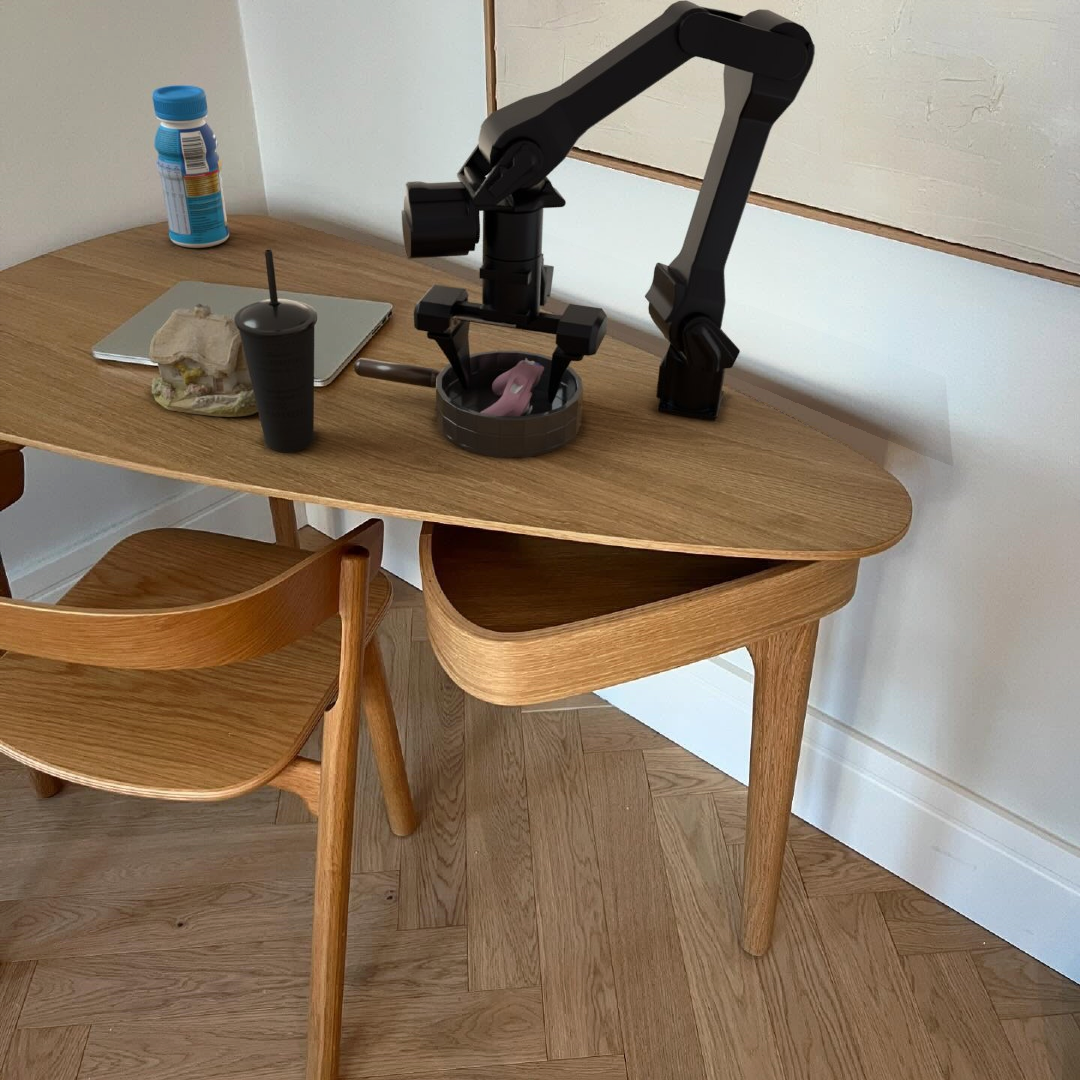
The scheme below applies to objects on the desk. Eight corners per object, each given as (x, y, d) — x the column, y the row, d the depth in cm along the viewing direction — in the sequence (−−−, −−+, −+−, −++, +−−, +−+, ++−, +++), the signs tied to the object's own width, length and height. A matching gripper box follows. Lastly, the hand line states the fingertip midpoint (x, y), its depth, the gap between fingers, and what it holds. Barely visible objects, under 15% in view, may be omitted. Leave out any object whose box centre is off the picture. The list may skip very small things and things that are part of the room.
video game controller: (506, 452, 113) (538, 403, 109) (467, 430, 112) (498, 379, 108) (526, 407, 121) (556, 359, 116) (490, 386, 120) (519, 337, 116)
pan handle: (446, 384, 117) (445, 367, 116) (440, 392, 115) (439, 375, 114) (358, 370, 119) (357, 353, 117) (351, 378, 117) (350, 361, 116)
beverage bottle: (158, 246, 152) (133, 96, 140) (184, 225, 159) (162, 80, 147) (216, 252, 151) (195, 101, 139) (240, 231, 158) (221, 85, 146)
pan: (593, 399, 121) (596, 362, 118) (560, 468, 109) (563, 429, 106) (462, 378, 124) (462, 341, 121) (416, 443, 112) (415, 405, 109)
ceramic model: (129, 401, 116) (111, 314, 111) (191, 358, 125) (177, 275, 119) (243, 428, 113) (231, 339, 107) (299, 381, 121) (290, 297, 116)
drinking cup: (292, 468, 107) (270, 273, 95) (235, 444, 110) (206, 253, 98) (343, 436, 112) (328, 247, 101) (287, 414, 115) (266, 229, 104)
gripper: (623, 234, 110) (611, 374, 119) (447, 212, 113) (448, 349, 122) (600, 275, 101) (589, 422, 110) (409, 249, 105) (414, 394, 114)
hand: (508, 394), depth 114 cm, fingers open, 9 cm apart
